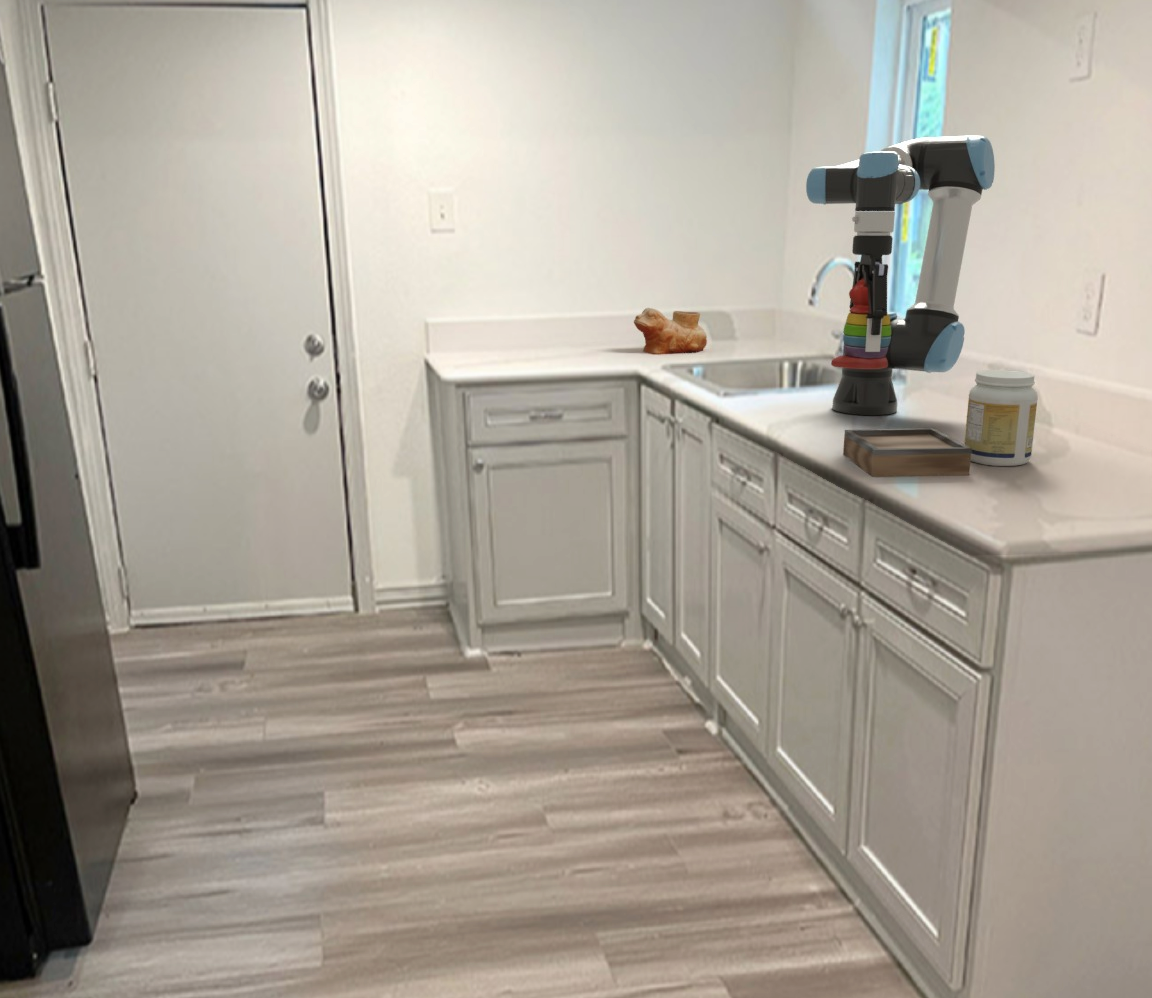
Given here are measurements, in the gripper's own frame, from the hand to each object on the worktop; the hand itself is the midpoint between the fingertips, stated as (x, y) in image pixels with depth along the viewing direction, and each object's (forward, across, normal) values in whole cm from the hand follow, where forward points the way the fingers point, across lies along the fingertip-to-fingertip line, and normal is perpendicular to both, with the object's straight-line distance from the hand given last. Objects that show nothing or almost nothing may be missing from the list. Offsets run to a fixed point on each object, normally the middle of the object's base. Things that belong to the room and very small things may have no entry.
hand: (864, 348), depth 212 cm
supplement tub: (+20, +16, +22) cm, 34 cm away
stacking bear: (+4, 0, 0) cm, 4 cm away
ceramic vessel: (+19, -146, -21) cm, 149 cm away
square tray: (+20, +18, +3) cm, 27 cm away
